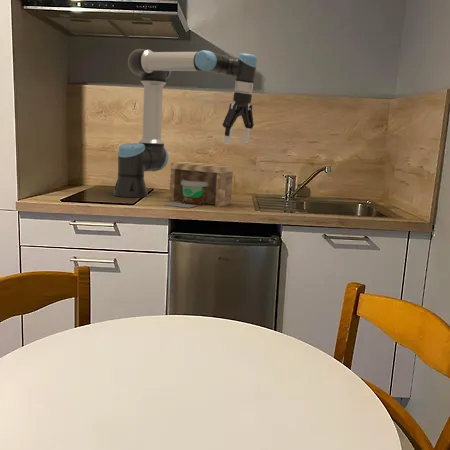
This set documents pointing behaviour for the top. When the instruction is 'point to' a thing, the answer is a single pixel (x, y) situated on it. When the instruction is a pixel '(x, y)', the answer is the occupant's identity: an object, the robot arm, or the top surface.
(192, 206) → the grey mat
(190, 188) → the food container
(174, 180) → the open oak shelf box
